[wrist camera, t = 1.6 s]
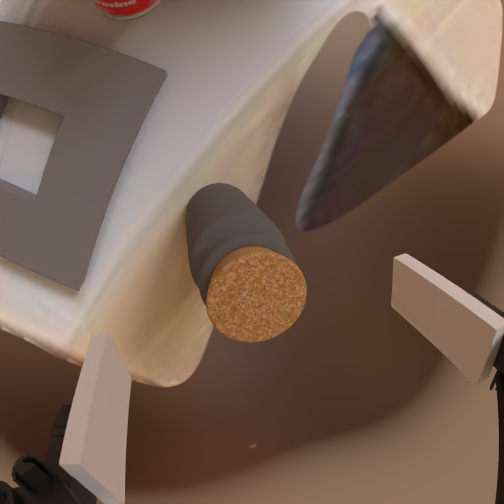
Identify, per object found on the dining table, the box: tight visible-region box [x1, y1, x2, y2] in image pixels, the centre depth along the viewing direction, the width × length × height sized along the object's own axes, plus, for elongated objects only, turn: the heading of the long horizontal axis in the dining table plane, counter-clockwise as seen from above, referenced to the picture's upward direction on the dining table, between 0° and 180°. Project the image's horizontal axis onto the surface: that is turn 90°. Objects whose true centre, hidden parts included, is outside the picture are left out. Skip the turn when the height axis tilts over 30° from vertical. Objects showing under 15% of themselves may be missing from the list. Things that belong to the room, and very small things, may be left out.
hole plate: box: [0, 21, 167, 291], centre depth 20 cm, size 20×20×2 cm
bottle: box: [186, 183, 307, 342], centre depth 21 cm, size 6×6×15 cm
